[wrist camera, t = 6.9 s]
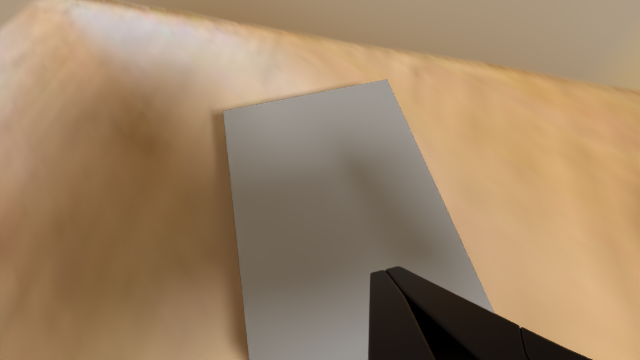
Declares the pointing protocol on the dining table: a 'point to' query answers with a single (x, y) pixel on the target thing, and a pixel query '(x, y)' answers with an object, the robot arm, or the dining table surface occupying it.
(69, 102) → the dining table surface
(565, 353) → the robot arm
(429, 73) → the dining table surface
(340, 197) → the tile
